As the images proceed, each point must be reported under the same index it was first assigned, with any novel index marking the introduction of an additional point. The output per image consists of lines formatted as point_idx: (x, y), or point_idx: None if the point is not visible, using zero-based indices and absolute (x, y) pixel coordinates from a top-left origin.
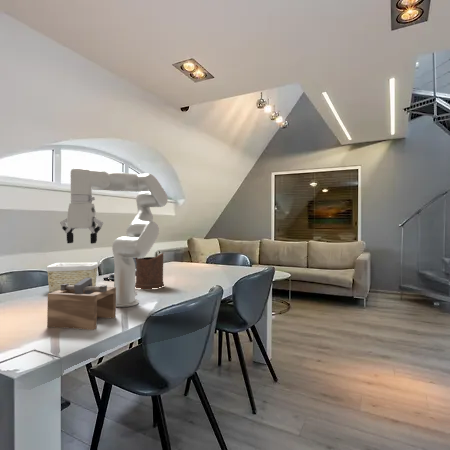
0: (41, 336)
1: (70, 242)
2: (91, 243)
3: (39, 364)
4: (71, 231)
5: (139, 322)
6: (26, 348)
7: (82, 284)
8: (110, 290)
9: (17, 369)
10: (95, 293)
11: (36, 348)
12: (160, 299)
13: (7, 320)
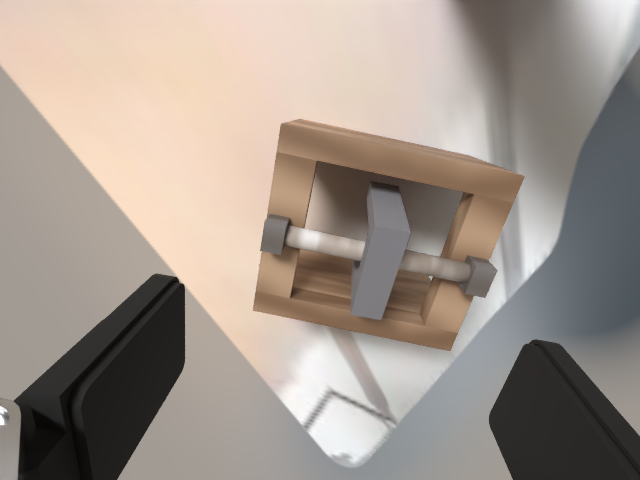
0: (303, 324)
1: (182, 345)
2: (498, 418)
3: (373, 443)
4: (32, 476)
5: (558, 221)
6: (310, 384)
7: (385, 303)
8: (498, 229)
9: (346, 455)
10: (446, 312)
11: (331, 386)
12: None
13: (114, 190)
